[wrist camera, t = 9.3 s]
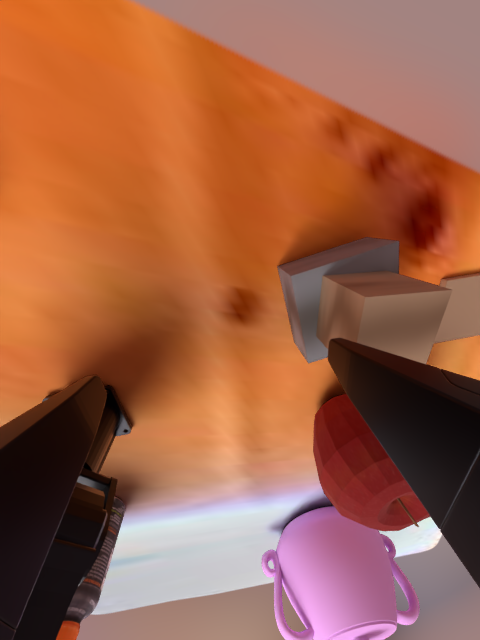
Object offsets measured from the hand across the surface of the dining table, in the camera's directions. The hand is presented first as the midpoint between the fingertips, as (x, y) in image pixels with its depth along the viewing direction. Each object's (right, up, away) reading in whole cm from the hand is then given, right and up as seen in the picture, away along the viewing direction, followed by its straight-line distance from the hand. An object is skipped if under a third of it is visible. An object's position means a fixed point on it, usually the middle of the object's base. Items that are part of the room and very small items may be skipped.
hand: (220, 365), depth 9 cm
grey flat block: (+9, +4, +12) cm, 16 cm away
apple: (+13, -9, +19) cm, 24 cm away
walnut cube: (+9, +3, +9) cm, 13 cm away
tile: (+24, +3, +14) cm, 28 cm away
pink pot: (+15, -36, +31) cm, 50 cm away
